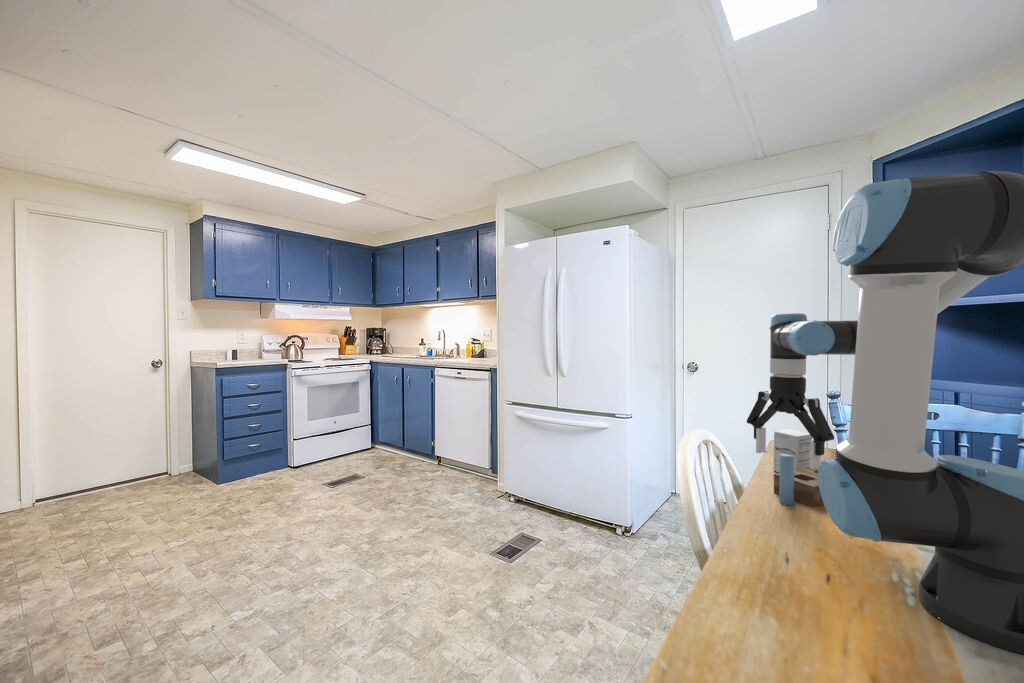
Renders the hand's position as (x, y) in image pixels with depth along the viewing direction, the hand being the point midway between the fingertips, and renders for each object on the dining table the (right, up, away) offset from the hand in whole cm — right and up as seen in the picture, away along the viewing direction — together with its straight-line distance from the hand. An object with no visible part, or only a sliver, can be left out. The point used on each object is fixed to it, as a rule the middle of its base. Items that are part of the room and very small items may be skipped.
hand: (786, 459), depth 105 cm
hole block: (+11, -11, +6) cm, 17 cm away
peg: (0, -11, 0) cm, 11 cm away
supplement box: (+16, -11, +22) cm, 30 cm away
